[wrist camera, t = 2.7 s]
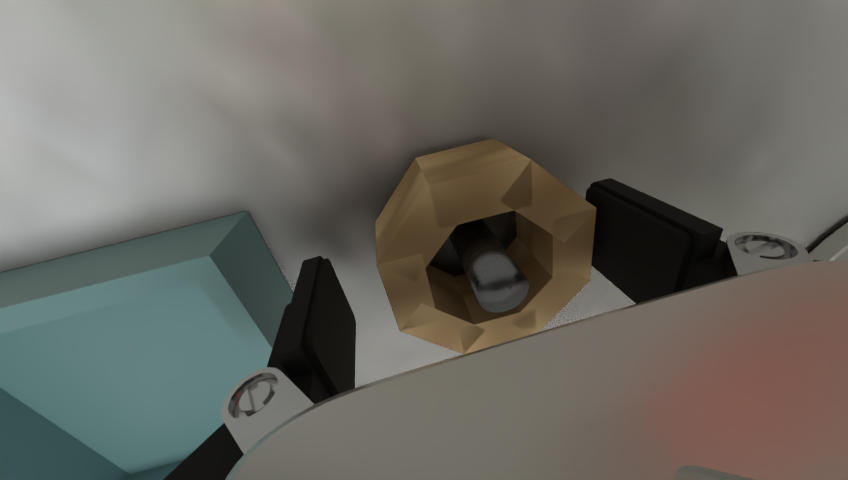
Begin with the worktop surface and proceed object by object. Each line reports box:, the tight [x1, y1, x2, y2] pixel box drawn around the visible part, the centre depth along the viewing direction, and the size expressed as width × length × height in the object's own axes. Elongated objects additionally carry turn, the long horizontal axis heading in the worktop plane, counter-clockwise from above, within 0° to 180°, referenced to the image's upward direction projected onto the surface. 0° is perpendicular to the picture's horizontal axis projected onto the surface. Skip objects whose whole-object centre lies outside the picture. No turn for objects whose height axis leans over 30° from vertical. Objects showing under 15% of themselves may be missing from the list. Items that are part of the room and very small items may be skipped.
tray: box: [0, 211, 293, 480], centre depth 14 cm, size 14×14×3 cm
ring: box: [375, 138, 596, 354], centre depth 11 cm, size 7×7×3 cm
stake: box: [429, 210, 529, 313], centre depth 11 cm, size 6×6×5 cm
